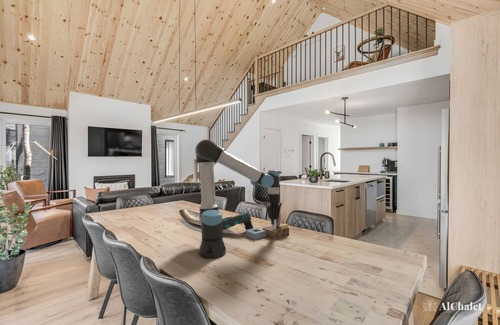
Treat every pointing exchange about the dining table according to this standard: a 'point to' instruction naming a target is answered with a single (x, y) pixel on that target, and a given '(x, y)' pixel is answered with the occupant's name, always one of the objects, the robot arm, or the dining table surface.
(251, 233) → the grey square holed block
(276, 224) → the steel round bar
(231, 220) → the gun
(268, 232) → the socket block
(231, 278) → the dining table surface
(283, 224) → the tan rectangular bar
